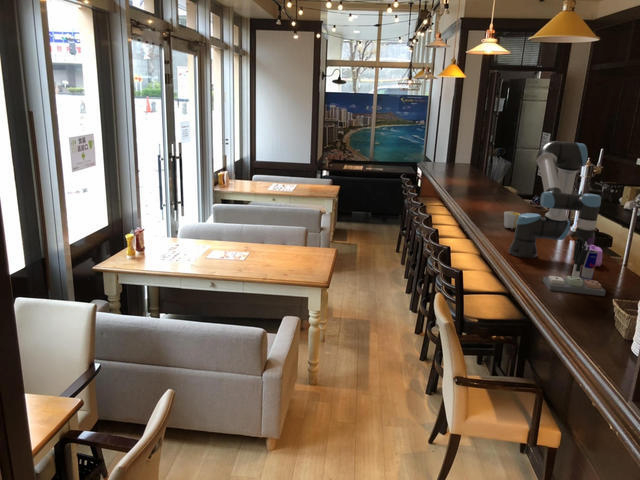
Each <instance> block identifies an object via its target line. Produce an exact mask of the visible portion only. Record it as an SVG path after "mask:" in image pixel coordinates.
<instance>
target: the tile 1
mask: <svg viewBox="0 0 640 480" xmlns="http://www.w3.org/2000/svg"><path fill="white" fill-rule="evenodd" d="M547 277H548V281H549V282H550V283H553V284H562V285H564V282H565V281H564V280H563V279H564V278H563V277H562V276H553V275H548V276H547Z"/></svg>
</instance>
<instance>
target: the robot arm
mask: <svg viewBox="0 0 640 480" xmlns="http://www.w3.org/2000/svg"><path fill="white" fill-rule="evenodd" d="M588 156H589V155H588V148H587V145H586V144H585V143H582V142H581V143H579V142H577V141H576V142H572V141H570V142H569V141H559V140H553V141H549V142H547V143H545V144H544V145H542V146H541V148H539V150H538V151H537V154H536V157H535V158H536V159H535V160H536V164H537V166H538V167H539V170H540V175H541V182H542V185H543V186H542V188H543V192H541V195H540V200H539V201H540V203H539V204H540V206H541V207H542V208H548V209H549V210H548V211H547V212H546V213H544V217H542V215H540V214H539V213H534V212H533V213H532V212H527V213H520V215H519V216H518V219H517V222H516V227H515V232H514V237H513V240H512V242H511V244H510V246H509V248H508V253H509V254H510V255H511V254H512V255H511V256H514V257H517V256H518V257H517V258H522V257H524V258H525V259H534V258H535V259H536V258H537V256H538V250H537V243H536V242H537V239H547V240H553V241H563V240H564V239H565V238H567V236H568V234H569V232H570V226H571V222H570V220H569V217H568V216H567V211H575V212H576V211H577V212H578V213H579V214H578V218H577V219H578V220H576V223H577V224H576V226H577V227H576V228H575V232H574V235H575V236H576V237H577V239H575V240H574V251H573V258H572V259H573V261H574V262H573V263H574V265H573V269H572V274H571V276H572V277H574V278H579V277H580V276H581V271H582V270H581V269H582V267H583V265H584V263H585V260H586V257H587V254H588V251H589V249H590V246H588V244H589V242H588V239H589V238H593V236H594V234H595V229H596V226H597V222H598V216H599V212H600V207H601V205H602V203H601V202H602V197H601V195H599V194H594V193H578V194H574V193H572V191H573V189H574V188H573V186H574V184H575V179H576V175H577V173H578V172H579V171H581V168H582V167H585V166H586V165H587V162H588Z"/></svg>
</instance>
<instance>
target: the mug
mask: <svg viewBox="0 0 640 480" xmlns="http://www.w3.org/2000/svg"><path fill="white" fill-rule="evenodd" d="M503 215H504V216H503V225H504V228H506V229H508V228H511V229H510V230H514V229H516V222H517V219H518V216H519V215H521V213H519V212H516V211H510V210H509V211H508V210H507V211H504V213H503ZM513 228H514V229H513Z"/></svg>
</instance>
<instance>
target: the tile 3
mask: <svg viewBox="0 0 640 480" xmlns="http://www.w3.org/2000/svg"><path fill="white" fill-rule="evenodd" d="M583 281H584V283H583V284H584V285H585V286H586V287H590V288H599V289H600V288H601V287H602V284H601V283H599V281H598V280H593V279H592V280H583Z"/></svg>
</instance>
